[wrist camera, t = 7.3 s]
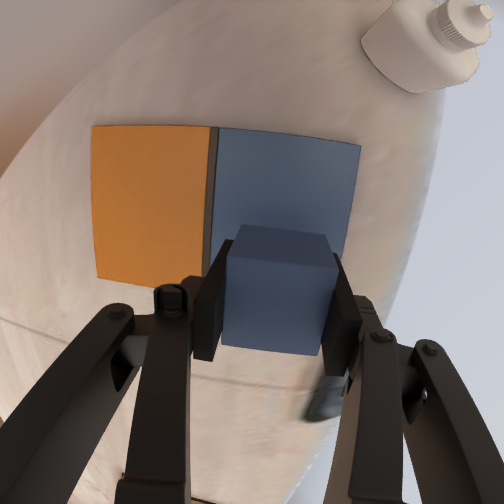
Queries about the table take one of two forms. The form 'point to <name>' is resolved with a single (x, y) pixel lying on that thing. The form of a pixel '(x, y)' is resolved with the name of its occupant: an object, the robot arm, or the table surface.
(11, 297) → the table surface
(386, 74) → the eye dropper bottle
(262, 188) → the sorting board
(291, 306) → the blue block
